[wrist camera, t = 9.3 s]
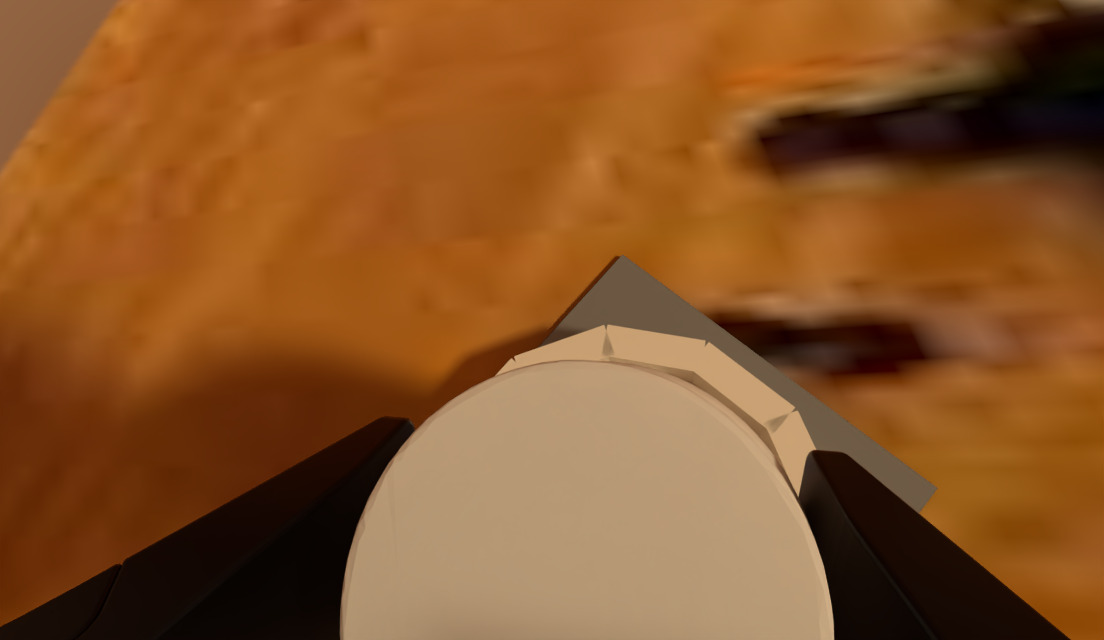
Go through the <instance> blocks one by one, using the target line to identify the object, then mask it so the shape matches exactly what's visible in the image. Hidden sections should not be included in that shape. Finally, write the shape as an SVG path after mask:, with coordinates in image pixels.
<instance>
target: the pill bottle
mask: <svg viewBox="0 0 1104 640" xmlns="http://www.w3.org/2000/svg"><path fill="white" fill-rule="evenodd" d="M340 640H834V623H833V613H832V605H831V599H830V594H829V589H828V584H827V579H826V574H825V570H824V565H823V562H822V559H821V556H820V553H819V550H818V547H817V544H816V541H815V539H814V536H813V534H812V531H811V527H810V524H809V521H808V518H807V516H806V513H805V511H804V508H803V506H802V503H801V501H800V499H799V497H798V495H797V493H796V491H795V489H794V487H793V485H792V483H791V482H790V480H789V478H788V476H787V474H786V472H785V470H784V469H783V467H782V466H781V465H780V463H779V462H778V460H777V459H776V457H775V456H774V455H773V453H772V452H771V451H770V450H769V448H768V447H767V446H766V445H765V443H764V442H763V441H762V440H761V439H760V438H759V437H758V435H757V434H756V433H755V432H754V431H753V430H752V429H751V428H750V427H749V426H748V425H747V424H746V423H745V422H744V421H743V420H742V419H741V418H740V417H738V416H737V415H736V414H735V413H734V412H733V411H732V410H730V409H729V408H728V407H726V406H725V405H724V404H723V403H721V402H720V401H718V400H717V399H716V398H714V397H713V396H711V395H710V394H708V393H706V392H705V391H703V390H701V389H700V388H698V387H696V386H694V385H692V384H690V383H688V382H686V381H684V380H682V379H680V378H678V377H675V376H673V375H670V374H668V373H665V372H662V371H659V370H656V369H653V368H649V367H644V366H640V365H635V364H629V363H621V362H610V361H593V360H558V361H549V362H541V363H537V364H533V365H529V366H524V367H520V368H516V369H512V370H510V371H507V372H504V373H502V374H499V375H497V376H494V377H492V378H489V379H487V380H485V381H483V382H481V383H479V384H477V385H475V386H473V387H471V388H469V389H468V390H466V391H464V392H463V393H461V394H460V395H458V396H456V397H455V398H453V399H452V400H450V401H449V402H447V403H446V404H445V405H444V406H442V407H441V408H440V409H439V410H437V411H436V412H435V413H434V414H432V415H431V416H430V417H429V418H427V419H426V420H425V421H424V422H423V423H422V424H421V425H420V426H419V427H418V428H417V429H416V430H415V431H414V432H413V433H412V434H411V436H410V437H409V438H408V439H407V441H406V442H405V443H404V444H403V445H402V447H401V448H400V449H399V451H398V452H397V453H396V455H395V456H394V457H393V458H392V460H391V461H390V462H389V464H388V465H387V467H386V469H385V470H384V472H383V474H382V475H381V477H380V479H379V480H378V482H377V484H376V486H375V488H374V489H373V491H372V493H371V495H370V497H369V499H368V501H367V503H366V506H365V508H364V511H363V513H362V515H361V518H360V520H359V522H358V525H357V528H356V531H355V535H354V538H353V542H352V545H351V548H350V552H349V555H348V559H347V564H346V570H345V576H344V582H343V588H342V598H341V609H340Z"/></svg>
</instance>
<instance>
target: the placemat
mask: <svg viewBox="0 0 1104 640" xmlns="http://www.w3.org/2000/svg"><path fill="white" fill-rule="evenodd" d="M602 325H604V326H605V329H606V330H607V325H613V326H620V327H626V328H632V329H638V330H644V331H650V332H656V333H663V334H669V335H675V336H681V337H687V338H693V339H699V340H705V346H706V345H707V344H708V342H710V343H711V344H712V345H714V346H715V347H716V348H718V349H719V350H720V351H722V352H723V353H724V354H725V355H727V356H728V357H729V358H731V359H732V360H733V361H735V362H736V363H737V364H739V365H740V366H741V367H743V368H744V369H745V370H747V371H748V372H749V373H751V374H752V375H753V376H755V377H756V378H757V379H758V380H760V381H761V382H762V383H764V384H765V385H766V386H768V387H769V388H770V389H772V390H773V391H774V392H776V393H777V394H778V395H780V396H781V397H782V398H784V399H785V400H786V401H788V402H789V403H790V404H791V405H793V406H794V407H795V408H794V410H793V411H792V412H795V411H798V412H799V414H800V416H801V418H802V420H803V423H804V425H805V427H806V429H807V431H808V433H809V435H810V437H811V440H812V442H813V444H814V446H815V448H816V450H825V451H838V452H843V453H846V454H847V455H849V456H850V457H851V458H853V459H854V460H855V461H856V462H857V463H859V464H860V465H861V466H862V467H863V468H865V469H866V470H867V471H868V472H869V473H871V474H872V475H873V476H874V477H875V478H877V479H878V480H879V481H880V482H881V483H883V484H884V485H885V486H886V487H887V488H889V489H890V490H891V491H892V492H893V493H895V494H896V495H897V496H898V497H900V498H901V499H902V500H903V501H904V502H906V503H907V504H908V505H909V506H910V507H912V508H913V509H914V510H915V511H916V512H918V513H919V512H920V511H921V510H922V508H923V507H924V506H925V504H926V503H927V502H928V500H929V499H930V498H931V496H932V495H933V494H934V492H935V491H936V490H937V487H935V486H934V485H933V484H931V483H930V482H929V481H927V480H926V479H924V478H923V477H922V476H920V475H919V474H918V473H916V472H915V471H914V470H912V469H911V468H910V467H908V466H907V465H906V464H904V463H903V462H902V461H900V460H899V459H898V458H896V457H895V456H893V455H892V454H891V453H889V452H888V451H887V450H885V449H884V448H883V447H881V446H880V445H879V444H877V443H876V442H875V441H873V440H872V439H871V438H869V437H868V436H866V435H865V434H864V433H862V432H861V431H860V430H858V429H857V428H856V427H854V426H853V425H852V424H850V423H849V422H848V421H846V420H845V419H844V418H842V417H841V416H840V415H838V414H837V413H835V412H834V411H833V410H831V409H830V408H829V407H827V406H826V405H825V404H823V403H822V402H821V401H819V400H818V399H817V398H815V397H814V396H813V395H811V394H810V393H809V392H807V391H806V390H804V389H803V388H802V387H800V386H799V385H798V384H796V383H795V382H794V381H792V380H791V379H790V378H788V377H787V376H786V375H784V374H783V373H782V372H780V371H779V370H778V369H776V368H775V367H773V366H772V365H771V364H769V363H768V362H767V361H765V360H764V359H763V358H761V357H760V356H759V355H757V354H756V353H755V352H753V351H752V350H751V349H749V348H748V347H746V346H745V345H744V344H742V343H741V342H740V341H738V340H737V339H736V338H734V337H733V336H732V335H730V334H729V333H728V332H726V331H725V330H724V329H722V328H721V327H720V326H718V325H717V324H715V323H714V322H713V321H711V320H710V319H709V318H707V317H706V316H705V315H703V314H702V313H701V312H699V311H698V310H697V309H695V308H694V307H693V306H691V305H690V304H689V303H687V302H686V301H684V300H683V299H682V298H680V297H679V296H678V295H676V294H675V293H674V292H672V291H671V290H670V289H668V288H667V287H666V286H664V285H663V284H662V283H660V282H659V281H658V280H656V279H655V278H653V277H652V276H651V275H649V274H648V273H647V272H645V271H644V270H643V269H641V268H640V267H639V266H637V265H636V264H635V263H633V262H632V261H631V260H629V259H628V258H627V257H625V256H624V255H622V256H621V257H620V258H619V259H618V260H617V261H616V262H615V263H614V264H613V266H612V267H611V268H610V269H609V270H608V271H607V272H606V273H605V274H604V275H603V277H602V278H601V279H600V280H599V281H598V282H597V283H596V284H595V285H594V286H593V288H592V289H591V290H590V291H589V292H588V293H587V294H586V295H585V296H584V297H583V299H582V300H581V301H580V302H579V303H578V304H577V305H576V306H575V307H574V308H573V310H572V311H571V312H570V313H569V314H568V315H567V316H566V317H565V318H564V319H563V321H562V322H561V323H560V324H559V325H558V326H557V327H556V328H555V329H554V330H553V332H552V333H551V334H550V335H549V336H548V337H547V338H546V339H545V340H544V341H543V343H542V344H541V345H540V346H539V347H542V346H545V345H548V344H551V343H554V342H556V341H559V340H562V339H565V338H568V337H571V336H574V335H576V334H579V333H582V332H585V331H588V330H591V329H594V328H596V327H599V326H602ZM539 347H538V348H539ZM792 412H791V413H792Z"/></svg>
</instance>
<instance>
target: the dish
mask: <svg viewBox="0 0 1104 640" xmlns="http://www.w3.org/2000/svg"><path fill="white" fill-rule="evenodd" d="M514 358H515V361H516V362H515V361H514V360H513V359H512V358H511V359H510V360H509V361H508V362H507V363H506V364H505V366H504V367H503V368H502V369H501V370H500V371H499V372H498V373H497V374H496V375H495V376H497V375H499V374H502V373H504V372H507V371H510V370H512V369H516V368H520V367H524V366H529V365H533V364H537V363H541V362H549V361H558V360H593V361H610V362H621V363H629V364H635V365H640V366H644V367H649V368H653V369H656V370H659V371H662V372H665V373H668V374H670V375H673V376H675V377H678V378H680V379H682V380H684V381H686V382H688V383H690V384H692V385H694V386H696V387H698V388H700V389H701V390H703V391H705V392H706V393H708V394H710V395H711V396H713V397H714V398H716V399H717V400H718V401H720V402H721V403H723V404H724V405H725V406H726V407H728V408H729V409H730V410H732V411H733V412H734V413H735V414H736V415H737V416H738V417H740V418H741V419H742V420H743V421H744V422H745V423H746V424H747V425H748V426H749V427H750V428H751V429H752V430H753V431H754V432H755V433H756V434H757V435H758V437H759V438H760V439H761V440H762V441H763V442H764V443H765V445H766V446H767V447H768V448H769V450H770V451H771V452H772V453H773V455H774V456H775V457H776V459H777V460H778V462H779V463H780V465H781V466H782V467H783V469H784V470H785V472H786V474H787V476H788V478H789V480H790V482H791V483H792V485H793V487H794V489H795V491H796V493H797V495H798V496H799V491H800V486H801V481H802V476H803V471H804V466H805V461H806V457H807V455H808V453H809V452H811V451H812V450H816V448H815V446H814V444H813V442H812V440H811V437H810V435H809V433H808V431H807V429H806V427H805V425H804V423H803V420H802V418H801V416H800V414H799V412H798V411H795V412H792V411H793V410H794V408H795V407H794V406H793V405H791V404H790V403H789V402H788V401H786V400H785V399H784V398H782V397H781V396H780V395H778V394H777V393H776V392H774V391H773V390H772V389H770V388H769V387H768V386H766V385H765V384H764V383H762V382H761V381H760V380H758V379H757V378H756V377H755V376H753V375H752V374H751V373H749V372H748V371H747V370H745V369H744V368H743V367H741V366H740V365H739V364H737V363H736V362H735V361H733V360H732V359H731V358H729V357H728V356H727V355H725V354H724V353H723V352H722V351H720V350H719V349H718V348H716V347H715V346H714V345H712V344H711V343H710V342H708V344H707V345H706V346H705V340H699V339H693V338H687V337H681V336H675V335H669V334H663V333H656V332H650V331H644V330H638V329H632V328H626V327H620V326H613V325H607V330H606V329H605V326H604V325H602V326H599V327H596V328H594V329H591V330H588V331H585V332H582V333H579V334H576V335H574V336H571V337H568V338H565V339H562V340H559V341H556V342H554V343H551V344H548V345H545V346H542V347H539V348H536V349H533V350H531V351H528V352H525V353H522V354H519V355H516V356H514ZM791 412H792V413H791Z"/></svg>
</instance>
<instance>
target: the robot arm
mask: <svg viewBox="0 0 1104 640" xmlns="http://www.w3.org/2000/svg"><path fill="white" fill-rule="evenodd" d="M414 431H415V428H414V425H413V423H412V421H411V420H409V419H408V418H401V417H388V416H385V417H381V418H379V419H377V420H375V421H374V422H372V423H370V424H368V425H366V426H365V427H363V428H361V429H359V430H357V431H356V432H354V433H352V434H350V435H348V436H347V437H345V438H343V439H341V440H339V441H338V442H336V443H334V444H332V445H330V446H329V447H327V448H325V449H323V450H321V451H320V452H318V453H316V454H314V455H312V456H311V457H309V458H307V459H305V460H303V461H302V462H300V463H298V464H296V465H294V466H293V467H291V468H289V469H287V470H285V471H284V472H282V473H280V474H278V475H276V476H275V477H273V478H271V479H269V480H267V481H266V482H264V483H262V484H260V485H258V486H257V487H255V488H253V489H251V490H249V491H248V492H246V493H244V494H242V495H240V496H239V497H237V498H235V499H233V500H231V501H230V502H228V503H226V504H224V505H222V506H221V507H219V508H217V509H215V510H213V511H212V512H210V513H208V514H206V515H204V516H203V517H201V518H199V519H197V520H195V521H194V522H192V523H190V524H188V525H186V526H185V527H183V528H181V529H179V530H177V531H176V532H174V533H172V534H170V535H168V536H167V537H165V538H163V539H161V540H159V541H158V542H156V543H154V544H152V545H150V546H149V547H147V548H145V549H143V550H141V551H140V552H138V553H136V554H134V555H132V556H131V557H129V558H127V559H126V560H125V561H124V562H123V564H122V565H121V564H116V565H114V566H112V567H110V568H109V569H107V570H105V571H103V572H102V573H100V574H98V575H96V576H94V577H93V578H91V579H89V580H87V581H86V582H84V583H82V584H80V585H78V586H76V587H75V588H73V589H71V590H69V591H67V592H65V593H63V594H62V595H60V596H58V597H56V598H54V599H52V600H50V601H49V602H47V603H45V604H43V605H41V606H39V607H37V608H36V609H34V610H32V611H30V612H28V613H26V614H25V615H23V616H21V617H19V618H17V619H15V620H13V621H11V622H9V623H7V624H5V625H3V626H1V627H0V640H340V609H341V598H342V588H343V582H344V576H345V570H346V564H347V559H348V555H349V552H350V548H351V545H352V542H353V538H354V535H355V531H356V528H357V525H358V522H359V520H360V518H361V515H362V513H363V511H364V508H365V506H366V503H367V501H368V499H369V497H370V495H371V493H372V491H373V489H374V488H375V486H376V484H377V482H378V480H379V479H380V477H381V475H382V474H383V472H384V470H385V469H386V467H387V465H388V464H389V462H390V461H391V460H392V458H393V457H394V456H395V455H396V453H397V452H398V451H399V449H400V448H401V447H402V445H403V444H404V443H405V442H406V441H407V439H408V438H409V437H410V436H411V434H412V433H413V432H414ZM798 497H799V499H800V501H801V503H802V506H803V508H804V511H805V513H806V516H807V518H808V521H809V524H810V527H811V531H812V534H813V536H814V539H815V541H816V544H817V547H818V550H819V553H820V556H821V559H822V562H823V565H824V570H825V574H826V579H827V584H828V589H829V594H830V599H831V605H832V613H833V623H834V640H1071V639H1069V638H1068V637H1067V636H1066V635H1065V634H1063V633H1062V632H1061V631H1060V630H1059V629H1057V628H1056V627H1055V626H1054V625H1053V624H1051V623H1050V622H1049V621H1048V620H1046V619H1045V618H1044V617H1043V616H1042V615H1040V614H1039V613H1038V612H1037V611H1036V610H1034V609H1033V608H1032V607H1031V606H1030V605H1028V604H1027V603H1026V602H1025V601H1024V600H1022V599H1021V598H1020V597H1019V596H1018V595H1016V594H1015V593H1014V592H1013V591H1012V590H1010V589H1009V588H1008V587H1007V586H1006V585H1004V584H1003V583H1002V582H1001V581H1000V580H998V579H997V578H996V577H995V576H993V575H992V574H991V573H990V572H989V571H987V570H986V569H985V568H984V567H983V566H981V565H980V564H979V563H978V562H977V561H975V560H974V559H973V558H972V557H971V556H969V555H968V554H967V553H966V552H965V551H963V550H962V549H961V548H960V547H959V546H957V545H956V544H955V543H954V542H953V541H951V540H950V539H949V538H948V537H947V536H945V535H944V534H943V533H942V532H940V531H939V530H938V529H937V528H936V527H934V526H933V525H932V524H931V523H930V522H928V521H927V520H926V519H925V518H924V517H922V516H921V515H920V514H919V513H918V512H916V511H915V510H914V509H913V508H912V507H910V506H909V505H908V504H907V503H906V502H904V501H903V500H902V499H901V498H900V497H898V496H897V495H896V494H895V493H893V492H892V491H891V490H890V489H889V488H887V487H886V486H885V485H884V484H883V483H881V482H880V481H879V480H878V479H877V478H875V477H874V476H873V475H872V474H871V473H869V472H868V471H867V470H866V469H865V468H863V467H862V466H861V465H860V464H859V463H857V462H856V461H855V460H854V459H853V458H851V457H850V456H849V455H847V454H846V453H843V452H838V451H825V450H812V451H811V452H809V453H808V455H807V457H806V461H805V466H804V471H803V476H802V481H801V486H800V491H799V496H798Z"/></svg>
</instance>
